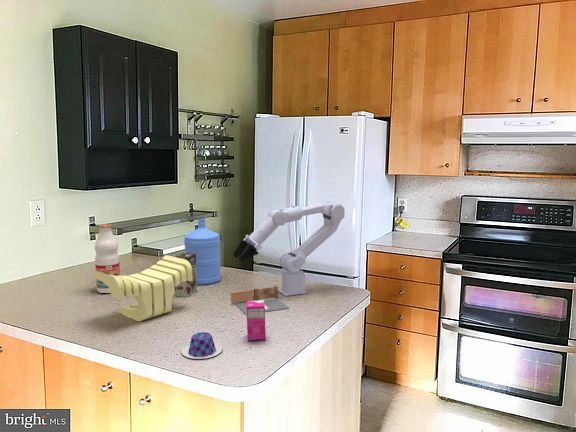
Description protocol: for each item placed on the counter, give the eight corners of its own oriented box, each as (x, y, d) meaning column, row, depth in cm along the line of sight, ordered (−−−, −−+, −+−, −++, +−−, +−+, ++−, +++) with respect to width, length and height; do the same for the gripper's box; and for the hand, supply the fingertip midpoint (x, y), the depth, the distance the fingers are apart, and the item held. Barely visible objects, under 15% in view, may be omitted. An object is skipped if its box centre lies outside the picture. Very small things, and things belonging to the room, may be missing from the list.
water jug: (227, 279, 218) (226, 218, 214) (204, 287, 205) (202, 223, 201) (202, 274, 226) (200, 215, 222) (178, 282, 213) (176, 220, 209)
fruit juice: (120, 286, 206) (116, 222, 202) (121, 292, 197) (118, 226, 193) (96, 289, 202) (92, 224, 198) (97, 295, 194) (93, 227, 190)
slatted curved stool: (121, 330, 157) (118, 278, 154) (96, 319, 167) (93, 270, 164) (193, 307, 180) (192, 261, 177) (167, 298, 190) (166, 255, 187)
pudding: (173, 357, 138) (172, 339, 137) (195, 341, 149) (195, 325, 148) (209, 364, 134) (208, 346, 133) (229, 347, 145) (229, 330, 144)
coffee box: (188, 297, 192) (187, 258, 189) (174, 296, 193) (172, 257, 191) (197, 290, 200) (196, 253, 198) (183, 289, 202) (182, 252, 199)
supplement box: (246, 334, 154) (246, 300, 152) (265, 334, 154) (265, 299, 152) (246, 341, 148) (246, 306, 146) (265, 341, 148) (265, 305, 147)
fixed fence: (276, 297, 191) (276, 286, 190) (278, 299, 189) (278, 287, 189) (252, 300, 187) (252, 289, 186) (254, 302, 185) (254, 290, 185)
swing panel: (252, 299, 187) (252, 289, 186) (253, 300, 185) (253, 290, 185) (231, 302, 183) (230, 292, 183) (231, 303, 182) (231, 293, 182)
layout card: (270, 294, 195) (270, 293, 195) (289, 308, 178) (289, 307, 178) (230, 299, 189) (230, 298, 189) (245, 314, 171) (245, 313, 171)
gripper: (249, 223, 194) (225, 247, 192) (261, 229, 181) (236, 255, 179) (260, 235, 197) (236, 259, 194) (273, 242, 184) (248, 267, 181)
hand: (237, 258), depth 187 cm, fingers open, 7 cm apart
